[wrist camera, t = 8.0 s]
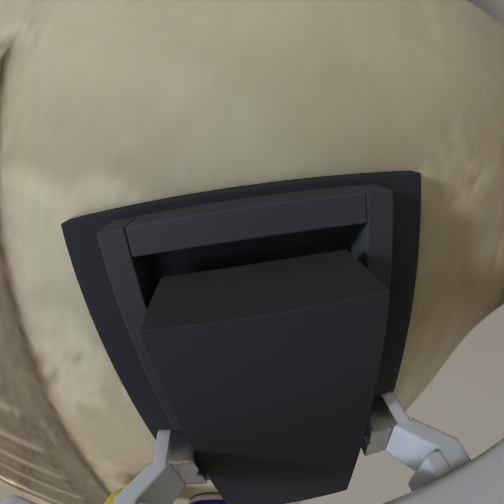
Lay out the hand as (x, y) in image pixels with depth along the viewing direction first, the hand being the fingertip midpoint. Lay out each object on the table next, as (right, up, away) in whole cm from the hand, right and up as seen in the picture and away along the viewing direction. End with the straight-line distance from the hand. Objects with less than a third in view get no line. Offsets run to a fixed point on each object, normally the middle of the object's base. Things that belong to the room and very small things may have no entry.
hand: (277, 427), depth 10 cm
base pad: (0, +1, +4) cm, 4 cm away
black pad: (0, +1, +2) cm, 2 cm away
